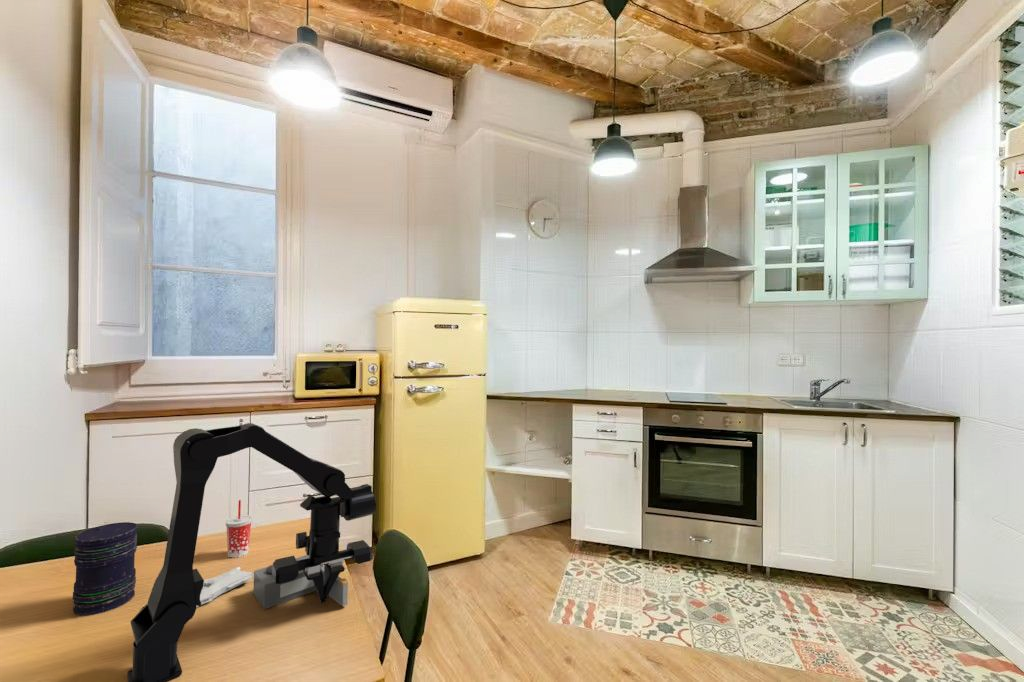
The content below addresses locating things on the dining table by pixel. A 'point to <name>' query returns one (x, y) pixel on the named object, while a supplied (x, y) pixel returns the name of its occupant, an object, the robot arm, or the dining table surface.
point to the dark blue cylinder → (104, 568)
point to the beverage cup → (238, 534)
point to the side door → (338, 590)
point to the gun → (223, 584)
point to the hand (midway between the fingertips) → (322, 601)
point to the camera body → (280, 587)
